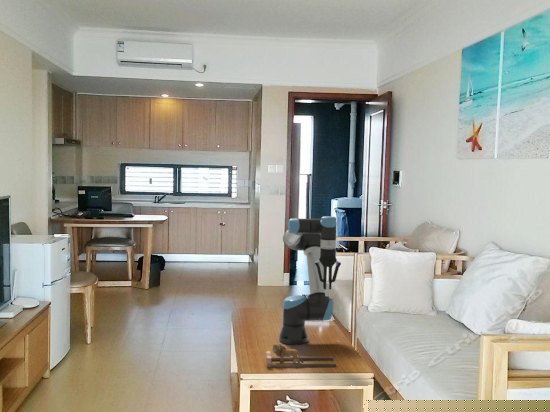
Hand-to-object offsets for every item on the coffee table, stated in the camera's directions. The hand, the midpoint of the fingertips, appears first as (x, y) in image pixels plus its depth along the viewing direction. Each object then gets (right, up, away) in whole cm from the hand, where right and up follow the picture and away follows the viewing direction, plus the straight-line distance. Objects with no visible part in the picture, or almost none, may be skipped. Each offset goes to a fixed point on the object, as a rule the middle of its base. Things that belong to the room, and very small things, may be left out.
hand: (327, 295), depth 262 cm
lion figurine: (-20, -30, -13) cm, 38 cm away
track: (-13, -29, -12) cm, 34 cm away
